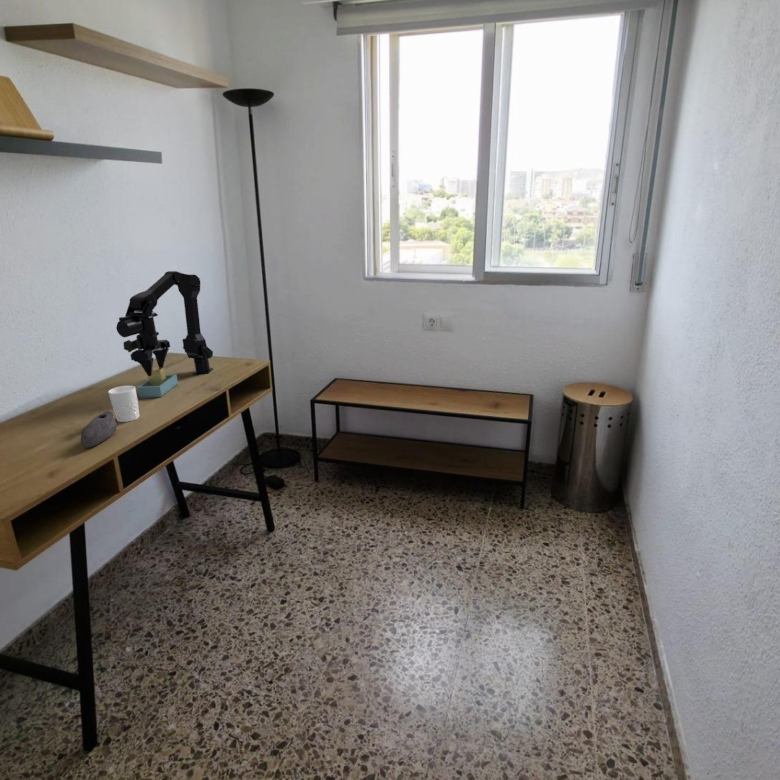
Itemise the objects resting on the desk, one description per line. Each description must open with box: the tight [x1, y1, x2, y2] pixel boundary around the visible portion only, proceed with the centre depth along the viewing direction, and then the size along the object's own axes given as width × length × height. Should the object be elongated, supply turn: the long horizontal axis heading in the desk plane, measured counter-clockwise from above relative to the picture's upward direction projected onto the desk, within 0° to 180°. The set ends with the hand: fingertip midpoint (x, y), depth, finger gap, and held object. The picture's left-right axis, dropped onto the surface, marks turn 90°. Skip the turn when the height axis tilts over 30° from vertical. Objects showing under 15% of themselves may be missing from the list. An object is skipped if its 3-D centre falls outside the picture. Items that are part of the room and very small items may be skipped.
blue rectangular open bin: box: [137, 374, 179, 399], centre depth 196 cm, size 14×8×4 cm, turn 178°
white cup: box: [107, 385, 140, 423], centre depth 169 cm, size 8×8×10 cm
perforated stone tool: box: [80, 410, 118, 448], centre depth 154 cm, size 15×5×7 cm, turn 174°
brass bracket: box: [147, 367, 166, 386], centre depth 195 cm, size 6×5×8 cm
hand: (155, 372), depth 194 cm, fingers open, 9 cm apart
